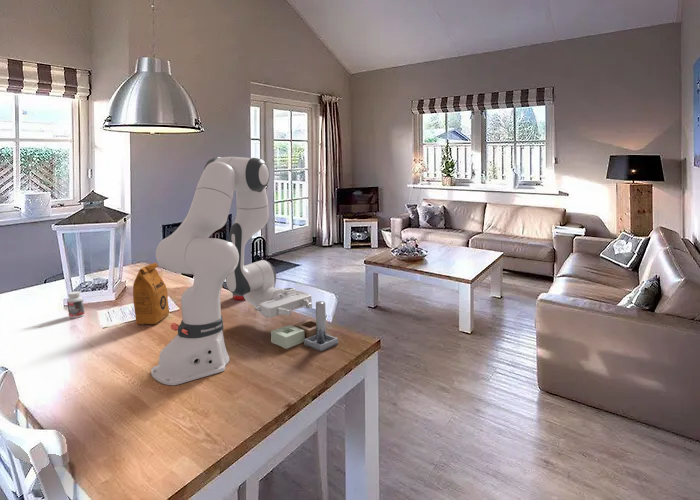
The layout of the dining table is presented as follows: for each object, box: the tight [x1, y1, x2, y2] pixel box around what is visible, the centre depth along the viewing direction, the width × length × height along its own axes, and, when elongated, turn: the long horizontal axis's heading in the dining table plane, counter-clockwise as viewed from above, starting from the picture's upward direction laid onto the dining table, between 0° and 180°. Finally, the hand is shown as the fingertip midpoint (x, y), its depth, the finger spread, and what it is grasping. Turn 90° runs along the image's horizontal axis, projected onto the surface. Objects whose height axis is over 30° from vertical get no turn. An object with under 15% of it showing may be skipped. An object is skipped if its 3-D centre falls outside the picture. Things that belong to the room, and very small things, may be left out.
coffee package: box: [132, 262, 170, 326], centre depth 173 cm, size 10×12×22 cm
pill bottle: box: [66, 290, 86, 319], centre depth 180 cm, size 5×5×10 cm
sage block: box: [270, 324, 305, 350], centre depth 154 cm, size 8×8×4 cm
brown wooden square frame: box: [293, 318, 328, 339], centre depth 160 cm, size 8×8×4 cm
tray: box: [303, 333, 339, 352], centre depth 152 cm, size 8×8×2 cm
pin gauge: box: [315, 300, 327, 345], centre depth 151 cm, size 3×3×14 cm
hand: (300, 309), depth 157 cm, fingers open, 8 cm apart
